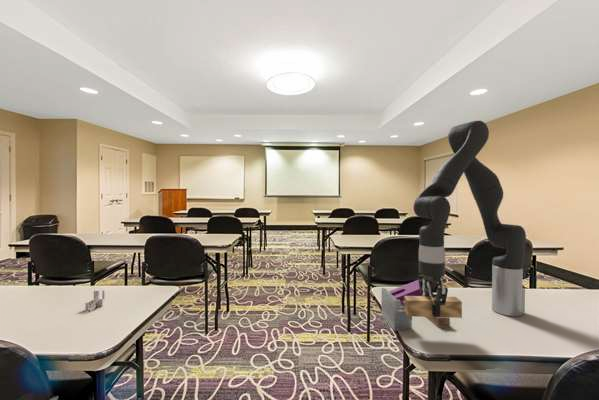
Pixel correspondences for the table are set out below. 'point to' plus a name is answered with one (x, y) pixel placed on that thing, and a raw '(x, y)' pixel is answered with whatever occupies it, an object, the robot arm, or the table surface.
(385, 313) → the bracket
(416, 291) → the mounting bracket
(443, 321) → the rest block
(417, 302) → the rail
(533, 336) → the table surface
